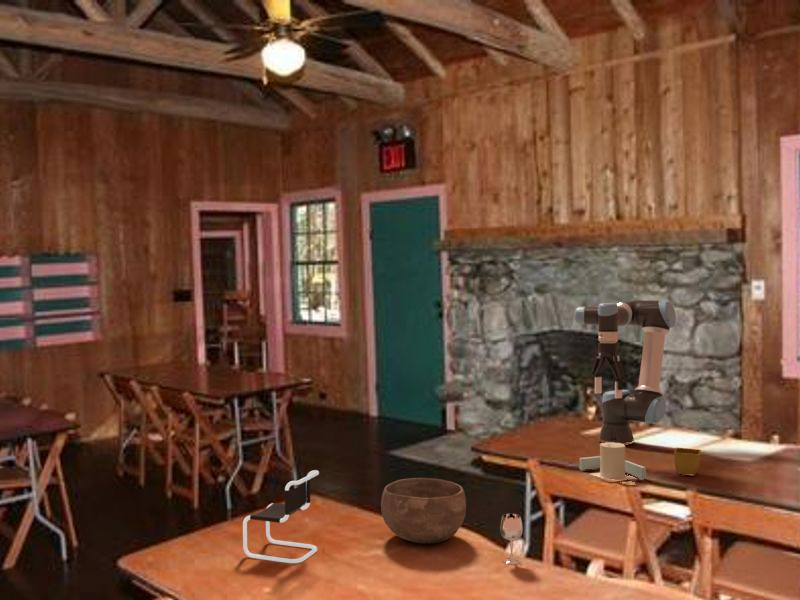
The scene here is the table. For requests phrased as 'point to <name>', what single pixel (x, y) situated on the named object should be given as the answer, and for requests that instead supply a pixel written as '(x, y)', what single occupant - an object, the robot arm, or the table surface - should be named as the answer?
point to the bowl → (423, 509)
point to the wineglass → (511, 533)
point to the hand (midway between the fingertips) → (608, 395)
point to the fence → (629, 466)
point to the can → (612, 460)
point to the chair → (284, 517)
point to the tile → (615, 479)
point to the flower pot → (687, 460)
